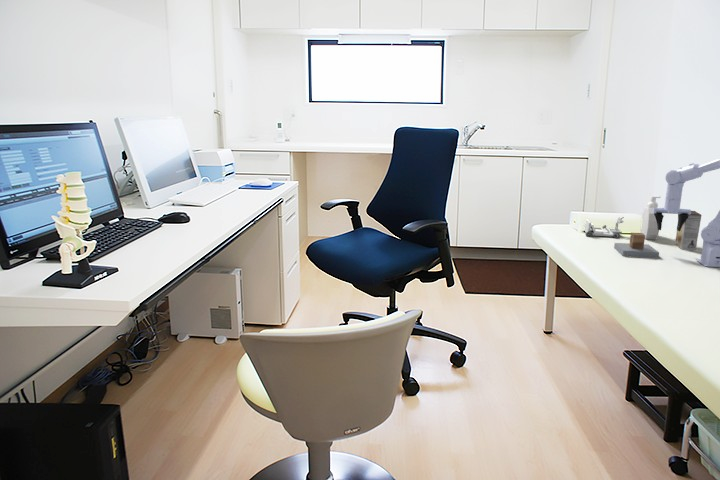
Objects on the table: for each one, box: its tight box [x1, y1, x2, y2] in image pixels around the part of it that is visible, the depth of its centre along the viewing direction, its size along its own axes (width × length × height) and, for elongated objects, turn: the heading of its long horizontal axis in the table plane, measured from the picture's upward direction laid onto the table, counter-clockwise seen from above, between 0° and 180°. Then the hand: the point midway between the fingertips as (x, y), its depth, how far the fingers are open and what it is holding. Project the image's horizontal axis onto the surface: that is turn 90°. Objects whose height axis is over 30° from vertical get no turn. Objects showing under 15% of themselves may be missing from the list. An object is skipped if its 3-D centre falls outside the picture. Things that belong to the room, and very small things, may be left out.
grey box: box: [613, 242, 660, 259], centre depth 242 cm, size 14×14×3 cm
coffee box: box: [674, 210, 702, 251], centre depth 251 cm, size 9×6×16 cm
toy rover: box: [584, 215, 624, 239], centre depth 274 cm, size 18×10×12 cm
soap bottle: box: [640, 195, 661, 241], centre depth 269 cm, size 16×5×20 cm, turn 165°
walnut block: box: [629, 231, 646, 249], centre depth 241 cm, size 4×4×6 cm
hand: (668, 230), depth 241 cm, fingers open, 7 cm apart
